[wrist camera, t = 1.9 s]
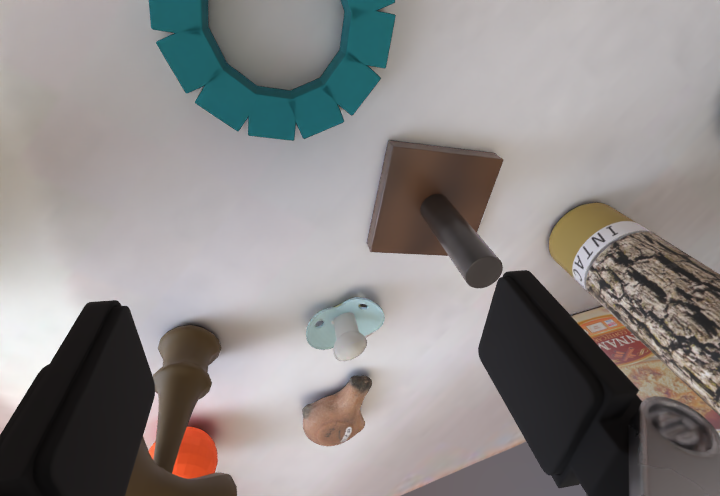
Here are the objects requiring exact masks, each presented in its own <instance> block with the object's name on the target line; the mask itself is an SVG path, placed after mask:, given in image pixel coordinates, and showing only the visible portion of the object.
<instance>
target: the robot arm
mask: <svg viewBox="0 0 720 496" xmlns="http://www.w3.org/2000/svg"><path fill="white" fill-rule="evenodd" d="M478 352H479V357H480V359H481V362H482V363H483V365H484V367H485V369H486V370H487V372H488V374H489V376H490V377H491V379H492V381H493V383H494V385H495V386H496V388H497V390H498V392H499V393H500V395H501V397H502V399H503V400H504V402H505V404H506V406H507V408H508V409H509V411H510V413H511V415H512V416H513V418H514V420H515V422H516V424H517V425H518V427H519V429H520V431H521V432H522V434H523V436H524V438H525V439H526V441H527V443H528V444H529V447H530V448H531V450H532V452H533V453H534V455H535V457H536V459H537V461H538V462H539V464H540V466H541V468H542V469H543V471H544V472H545V473H546V474H548V475H551V476H552V478H553V479H554V481H555V483H556V485H557V486H558V488H563V487H568V486H574V485H579V484H581V486H582V487H583V489H584V490H585V492H586V496H720V435H719V433H718V432H717V431H716V429H715V428H714V427H713V425H712V424H711V423H710V422H709V421H708V420H707V419H705V418H704V417H703V416H702V415H701V414H700V413H698V412H697V411H695V410H694V409H692V408H691V407H689V406H687V405H685V404H683V403H681V402H679V401H677V400H673V399H670V398H666V397H658V396H653V397H649V398H646V399H645V400H644V401H642V400H641V399H640V398H639V397H638V396H637V393H638V392H639V389H638V388H637V387H636V386H635V385H634V384H633V383H632V382H631V381H630V379H629V378H628V377H627V376H626V375H625V374H624V373H623V372H622V371H621V370H620V369H619V368H618V366H617V365H616V364H615V363H614V362H613V361H612V360H611V359H610V358H609V357H608V356H607V355H606V353H605V352H604V351H603V350H602V349H601V348H600V347H599V346H598V345H597V344H596V343H595V342H594V340H593V339H592V338H591V337H590V336H589V335H588V334H587V333H586V332H585V331H584V330H583V328H582V327H581V326H580V325H579V324H578V323H577V322H576V321H575V320H574V319H573V318H572V317H571V315H570V314H569V313H568V312H567V311H566V310H565V309H564V308H563V307H562V306H561V305H560V304H559V302H558V301H557V300H556V299H555V298H554V297H553V296H552V295H551V294H550V293H549V292H548V291H547V289H546V288H545V287H544V286H543V285H542V284H541V283H540V282H539V281H538V280H537V279H536V278H535V276H534V275H533V274H532V273H531V272H529V271H527V270H524V271H510V272H506V273H505V274H504V275H503V277H501V278H499V279H498V282H497V285H496V288H495V292H494V295H493V299H492V302H491V306H490V309H489V313H488V316H487V320H486V323H485V326H484V330H483V333H482V337H481V340H480V344H479V348H478ZM154 396H155V383H154V379H153V376H152V373H151V371H150V368H149V365H148V362H147V359H146V356H145V353H144V350H143V347H142V344H141V341H140V338H139V335H138V332H137V329H136V327H135V324H134V321H133V318H132V315H131V312H130V309H129V308H128V307H127V306H121V304H120V303H119V302H118V301H116V300H113V301H100V302H89V303H87V304H86V305H85V307H84V308H83V310H82V311H81V313H80V315H79V316H78V318H77V320H76V321H75V323H74V325H73V326H72V328H71V330H70V331H69V333H68V335H67V336H66V338H65V340H64V341H63V343H62V345H61V346H60V348H59V349H58V351H57V353H56V354H55V356H54V358H53V359H52V361H51V363H50V364H49V365H47V366H45V367H44V368H43V369H42V370H41V371H40V372H39V373H38V375H37V376H36V378H35V380H34V381H33V383H32V385H31V386H30V388H29V389H28V391H27V393H26V394H25V396H24V397H23V399H22V401H21V402H20V404H19V405H18V407H17V409H16V410H15V412H14V414H13V415H12V417H11V418H10V420H9V422H8V423H7V425H6V426H5V428H4V430H3V431H2V433H1V435H0V496H125V494H126V491H127V488H128V484H129V481H130V477H131V474H132V471H133V467H134V464H135V460H136V457H137V454H138V450H139V447H140V444H141V440H142V437H143V433H144V430H145V427H146V423H147V420H148V417H149V413H150V410H151V406H152V403H153V400H154Z"/></svg>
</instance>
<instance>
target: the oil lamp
mask: <svg viewBox="0 0 720 496" xmlns="http://www.w3.org/2000/svg"><path fill="white" fill-rule="evenodd" d="M371 385H372V380H371V379H370V378H369V377H367V376H363V375H362V376H353V377H351V378H350V381H349V382H348V383H347V385H346V386H345V387H344V388H343V389H342V390H341V391H339V392H337V393H336V394H334V395H330V396H327V397H324V398H322V399H320V400H318V401H316V402H314V403H312V404H308V405H306V406H305V407H304V408H303V429H304V432H305V434H306V436H307V437H308V438H309V439H310V440H311V441H313V442H314V443H316V444H319V445H323V446H334V445H338V444H341V443H344V442H345V441H348V440H349V439H350V438H352V437H353V436H354V435H356V434H357V433H358V432H360V431H361V430H362V429H363V428H364V426H365V421H364V419H363V417H362V415H361V412H360V408H361V405H362V402H363V400H364V397H365V395H366V394H367V393H368V391H369V389H370V388H371Z"/></svg>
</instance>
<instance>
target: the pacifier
mask: <svg viewBox="0 0 720 496" xmlns="http://www.w3.org/2000/svg"><path fill="white" fill-rule="evenodd" d="M360 304H366V305H367V307H362V306H361V305H360ZM384 318H385V317H384V313H383V311H382V309H381V307H380V306H379V305H378V304H377V303H375V302H374V301H372V300H370V299H367V298H361V297H356V298H351V299H348V300H346V301H345V302H343V303H342V304H339V305H337V306H335V307H330V308H326V309H323V310H321V311H320V312H318V313H317V314H315V315H314V316H313V318H312V319H311V320H310V322H309V324H308V326H307V331H306V337H307V341H308V343H309V344H310V345H311V346H312V347H314V348H316V349H321V350H325V349H331V348H334V349H333V351H334V355H335V357H336V359H338V360H340V361H349V360H352V359H354V358H356V357H358V356H359V355H360V354H361V353H362V352H363V351H364V350H365V348H366V346H367V340H366V337H368V336H369V335H371V334H372V333H373V332H374V331H376V330H377V329H379V328H380V327H381V326H382V325H383V322H384ZM320 320H322V321H324V322H323V324H322V325H320V326H315V324H316V323H317V322H318V321H320Z"/></svg>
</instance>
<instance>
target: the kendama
mask: <svg viewBox="0 0 720 496" xmlns="http://www.w3.org/2000/svg"><path fill="white" fill-rule="evenodd" d="M158 350H159V352H160V354H161V356H162V358H163V367H162V368H160V369H159V370H158V371H157V372H156V373H155V374H154V375H153V379H154V383H155V392H157V393H158V397H159V412H158V425H157V435H156V443H155V450H154V457H153V459H152V457H151V455H150V453H149V451H148V448H147V446H146V443H145V441H144V438H143V437H142V440H141V444H140V447H139V450H138V454H137V457H136V460H135V464H134V467H133V471H132V474H131V477H130V481H129V484H128V488H127V491H126V494H125V496H237V489H236V485H235V483H234V481H233V479H232V477H231V476H230V475H229V474H224V473H212V474H208V475H205V476H201V477H197V478H192V479H186V478H182V477H179V476H177V475H174V474H172V472H173V468H174V465H175V461H176V458H177V455H178V452H179V448H180V445H181V442H182V439H183V436H184V433H185V430H186V428H187V425H188V422H189V419H190V417H191V414H192V412H193V409H194V407H195V405H196V403H197V401H198V399H201V398H202V397H204V396H205V395H206V394H207V393H208V392H209V390H210V387H211V384H212V382H211V379H210V377H209V374H208V373H207V371H208V365H209V364H211V363H212V362H213V361H214V360H215V359H216V358H217V357H218V356H219V353H220V351H221V345H220V342H219V340H218V338H217V337H216V336H215V335H214V334H213V333H212V332H210V331H208V330H206V329H204V328H202V327H198V326H193V325H186V326H179V327H176V328H174V329H172V330H170V331H168V332H167V333H166V334H165V335H164V336H163V337H162V338H161V340H160V343H159V346H158Z"/></svg>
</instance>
